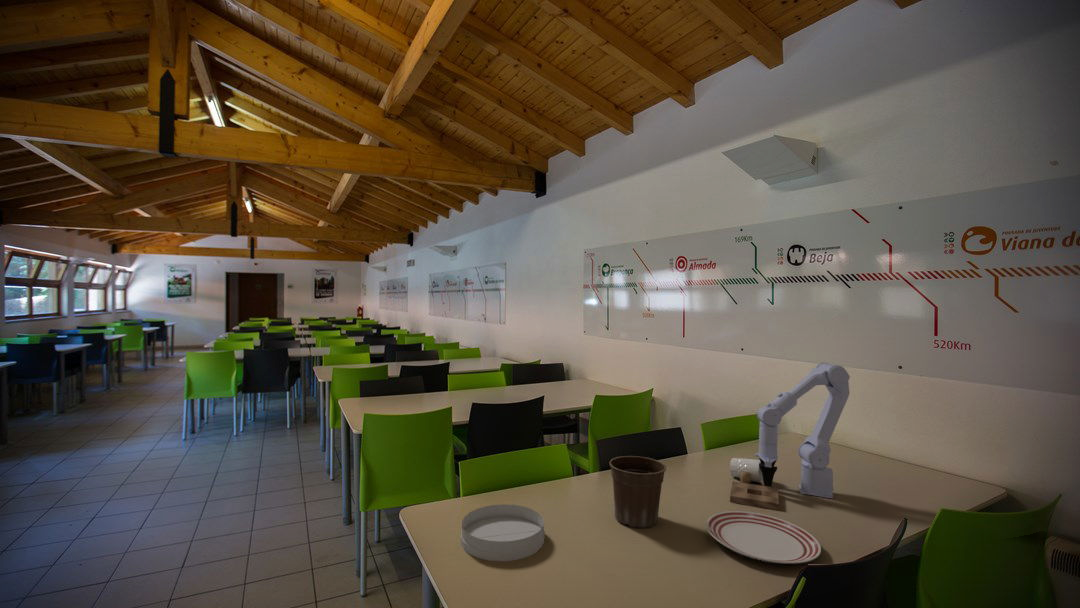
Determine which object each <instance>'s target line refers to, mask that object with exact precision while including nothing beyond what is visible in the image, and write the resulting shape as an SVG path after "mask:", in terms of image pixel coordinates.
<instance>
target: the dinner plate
mask: <svg viewBox="0 0 1080 608" xmlns="http://www.w3.org/2000/svg"><path fill="white" fill-rule="evenodd" d="M705 526H706V530H707V532H708V533H709V535H710V537H712V538H713V539H714V540H716V542H718V543H719V544H721V545H722V546H723V547H725V548H727V549H729V550H731V551H732V552H735V553H737V554H739V555H741V556H744V557H747V558H750V559H753V560H756V559H757V561H760V560H761V561H760V562H765V563H772V564H785V565H786V564H788V565H789V564H790V565H791V564H803V563H808V562H811V561H814V560H816V559H818V558H819V556H820V555H821V553H822V546H821V544H820V542H819V541H818V539H816V538H815V536H813V535H812V534H811V533H809V532H808V531H807V530H806V529H804V528H802V527H800V526H798V525H796V524H795V523H792V522H789V521H787V520H785V519H781V518H778V517H775V516H773V515H768V514H764V513H759V512H758V513H757V512H753V511H742V510H741V511H740V510H730V511H729V510H728V511H721V512H718V513H715V514H713V515H711V516H709V517H708V518H707V520H706V523H705Z"/></svg>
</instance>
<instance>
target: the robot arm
mask: <svg viewBox="0 0 1080 608" xmlns="http://www.w3.org/2000/svg"><path fill="white" fill-rule="evenodd" d="M850 378H851V376H850V374H849V372H848V371H847V369H846V368H845V367H844V366H841V365H838V364H836V365H835V364H832V363H829V362H824V361H823V362H821V363H818V364H817V365H816V366H814V367H813V368H811V370H810V371H809V373H808V374H807V375H806V376H804V377H803V378H802V379H801V380H800V381H799V382H798V383H797V384H795V386H794V387H793V388H791V390H790V391H783V392H778V393H777V395H776V396H777V397H776V398H773V400H772V401H771V402H767V403H766V405H765V406H761V407H760V408H759V410H758V412H756V417H757V419H758V421H759V427H758V428H759V430H758V432H759V433H758V435H759V436H758V438H759V439H758V452H755V454H754V455H755V457H758V460H760V461H761V464H760V463H759V467H760V469H761V472H762V476H763V482H764V486H769V487H771V485H772V482H774V477H775V474H776V472H777V470H778V466H775V465H776V462H777V461H778V460H779V456H778V442H779V440H778V439H779V438H778V435H779V434H778V431H779V428H778V425H779V424H781V422H782V418H783V417H784V416H785V415H786V414H787V413H789V412H790V411H791V410H792V409H794V408H795V407H796V406H797V405H798V399H800V398H802V397H803V396H804V395H806V393H808V392H809V391H811V390H812V389H814V388H815V387H816V386H825V388H826V389H827V391H828V395H827V398H826V399H825V403H824V405H823V407H822V410H821V412H820V414H819V416H818V419H817V421H816V424H815V426H814V428H813V431H812V433H811V435H808V436H807V437H806V438H805V440H804V442H803V443H801V444H800V445H799V447H798V450H797V453H798V456H799V457H800V458H801V463H800V464H801V465H800V484H798V489H799V492H800V494H802V495H808V496H816V497H822V498H828V499H834V493H833V492H834V475H833V474H834V472H833V468H832V467H827V466H828V465H829V463H830V453H831V450H832V449H831V445H830V441H831V438H832V436H833V434H834V431H835V429H836V427H837V424H838V422H839V419H840V418H841V415H842V412H843V411H844V409H845V406H846V404H847V401H848V399H849V397H850V386H849V380H850Z"/></svg>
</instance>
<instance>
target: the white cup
mask: <svg viewBox="0 0 1080 608" xmlns="http://www.w3.org/2000/svg"><path fill="white" fill-rule="evenodd" d="M759 463H760V464H761V461H760V459H755V458H743V457H742V458H741V457H732V458H731V461H730V464H729V466H730V467H729V470H730V471H729V472H730V476H731V477H733V478H737V479H739V480H741V472H743V471H744V472H749V473H750V474H751V478H750V482H753V483H754V482H755V483H757V484H758V483H759V484H762V478H763V476H762V472H761V469H760V467H759Z"/></svg>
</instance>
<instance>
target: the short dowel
mask: <svg viewBox="0 0 1080 608" xmlns="http://www.w3.org/2000/svg"><path fill="white" fill-rule="evenodd" d="M750 478H751V474H750V473H749V472H744V471H743V472H741V479H740V483H746V484H751V481H750Z"/></svg>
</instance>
